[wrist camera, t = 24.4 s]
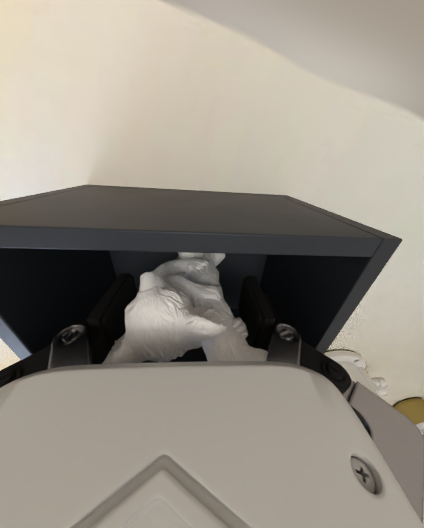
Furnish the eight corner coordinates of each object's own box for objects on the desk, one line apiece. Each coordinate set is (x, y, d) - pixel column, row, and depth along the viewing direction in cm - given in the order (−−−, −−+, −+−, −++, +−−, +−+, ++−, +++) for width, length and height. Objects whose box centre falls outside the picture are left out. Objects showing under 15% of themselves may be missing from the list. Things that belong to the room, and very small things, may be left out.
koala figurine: (237, 230, 15) (353, 347, 5) (228, 290, 18) (288, 443, 8) (139, 227, 14) (5, 380, 3) (147, 292, 17) (88, 481, 6)
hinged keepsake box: (85, 184, 13) (-110, 221, 5) (287, 195, 15) (403, 239, 6) (122, 308, 20) (67, 410, 12) (256, 308, 22) (292, 400, 13)
